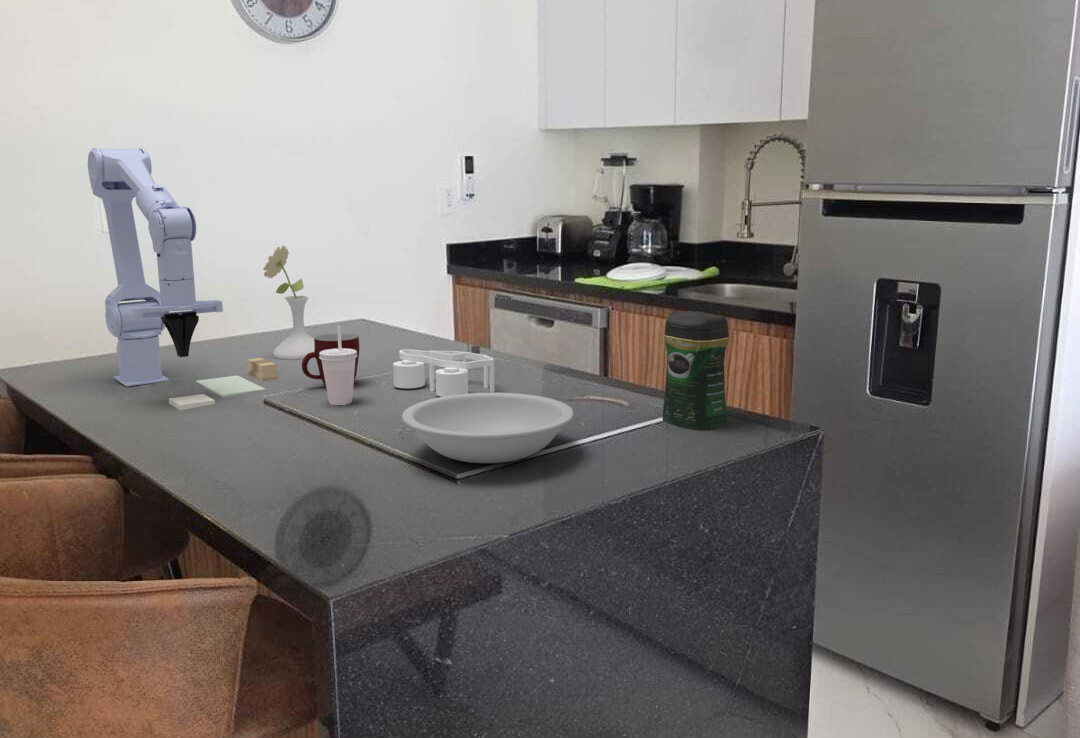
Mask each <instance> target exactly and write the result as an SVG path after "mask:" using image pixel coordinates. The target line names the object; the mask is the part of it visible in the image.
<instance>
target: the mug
mask: <svg viewBox="0 0 1080 738" xmlns="http://www.w3.org/2000/svg"><path fill="white" fill-rule="evenodd" d="M313 338H314V352H311V353H308V354H307V355H306V356H305V357H304V359H302V362H301V370H302V372H303V374H304V375H305V376H306V377H308V378H310V379H312V380H321V381H322V383H323V384H324V386H325V387H326V382H325V377H324V371H323V366H322V360H321V359H319V357H320V355H319V353H320V352H321V351H323V350H328V349H338V333H329V334H327V333H326V334H322V335H321V334H320V335H317V336H315V337H313ZM341 346H342V348H346V349H354V350H356V351H357V357H356V358H355V370H354V381H355V380H356V377H357V373H358V372H357V371H358V364H359V357H360V337H359V335H357V334H352V333H341ZM311 359H316V364H317V367H318V371H319V372H318V373H319V374H312V373H311V372H310V371H309V370H308V364H309V362H310V360H311Z"/></svg>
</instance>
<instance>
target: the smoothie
mask: <svg viewBox="0 0 1080 738" xmlns="http://www.w3.org/2000/svg"><path fill="white" fill-rule="evenodd" d="M341 327H342V326H341V325H337V326H336V328H337V329H336V330H337V334H338V349H328V350H323V351H321V352H320V353H319V355H320V357H319V359H321V360H322V366H323V371H324V377H325V382H326V386H325V388H326V393H327V398H328V404H329V403H330V404H332V405H343V406H347V405H346V404H348V405H350V404H349V403H351V402H352V403H353V394H354V384H355V383H354V382H355V380H354V370H355V358H356V357H357V351H356V350H354V349H346V348H342V346H341V334H342V331H341V330H342V329H341ZM352 403H351V404H352ZM330 404H329V405H330ZM332 405H331V406H332Z"/></svg>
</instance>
